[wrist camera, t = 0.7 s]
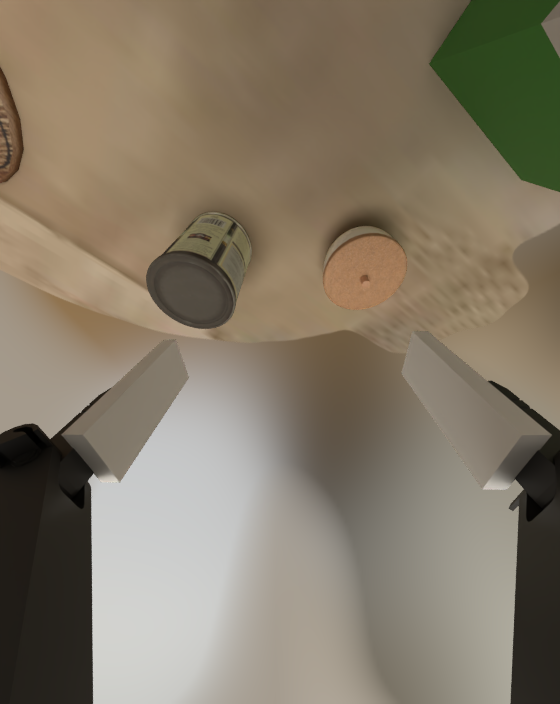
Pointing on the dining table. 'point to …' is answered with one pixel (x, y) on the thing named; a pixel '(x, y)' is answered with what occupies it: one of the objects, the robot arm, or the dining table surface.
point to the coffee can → (202, 272)
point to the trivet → (9, 133)
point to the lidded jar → (363, 268)
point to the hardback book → (510, 80)
